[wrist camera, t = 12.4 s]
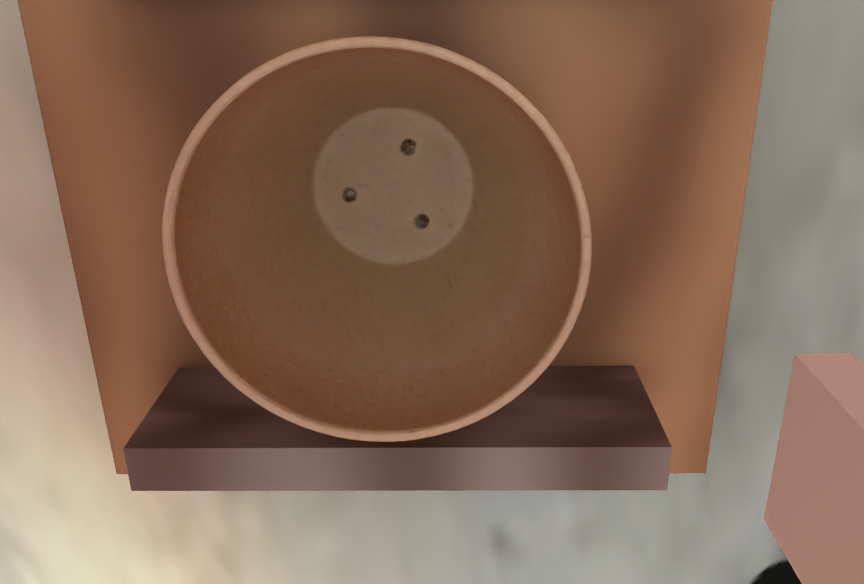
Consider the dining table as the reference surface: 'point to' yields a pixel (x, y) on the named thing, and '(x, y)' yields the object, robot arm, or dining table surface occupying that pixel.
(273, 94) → the flower pot
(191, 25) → the cup cradle
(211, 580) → the dining table surface
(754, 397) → the dining table surface
